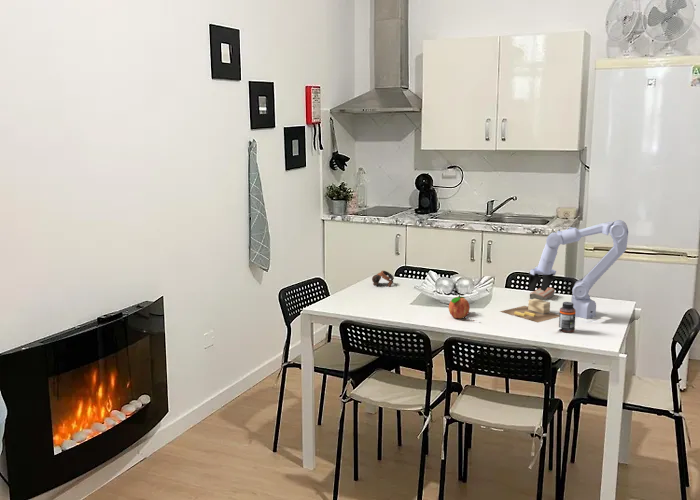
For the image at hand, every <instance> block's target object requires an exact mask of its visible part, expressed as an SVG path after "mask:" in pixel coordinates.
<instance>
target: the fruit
mask: <svg viewBox="0 0 700 500" xmlns="http://www.w3.org/2000/svg"><path fill="white" fill-rule="evenodd" d="M448 311H449V314H450V315H451V317H452V318H454V319H464V318H466V316H468V314H469V313H470V303H469V301H468V299H466V297H465V296H461V294H460V293H459V294H458V296H456V297H453V298H452V299H450V301H449V304H448Z"/></svg>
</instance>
